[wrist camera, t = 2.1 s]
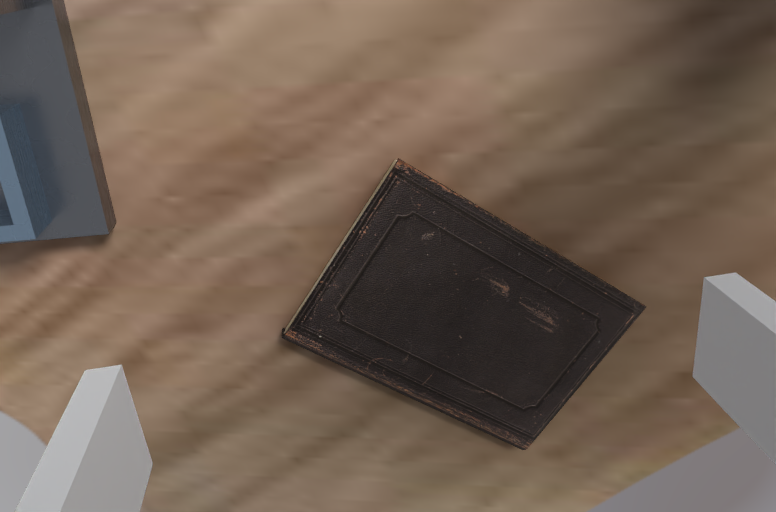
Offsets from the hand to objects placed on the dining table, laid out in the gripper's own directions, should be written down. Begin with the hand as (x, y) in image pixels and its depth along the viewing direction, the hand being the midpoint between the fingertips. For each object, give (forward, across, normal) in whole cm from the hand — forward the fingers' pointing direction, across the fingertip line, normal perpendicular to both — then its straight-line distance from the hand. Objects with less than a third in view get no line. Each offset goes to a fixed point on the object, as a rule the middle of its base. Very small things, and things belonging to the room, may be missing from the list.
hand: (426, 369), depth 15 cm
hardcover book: (+33, +7, -18) cm, 38 cm away
